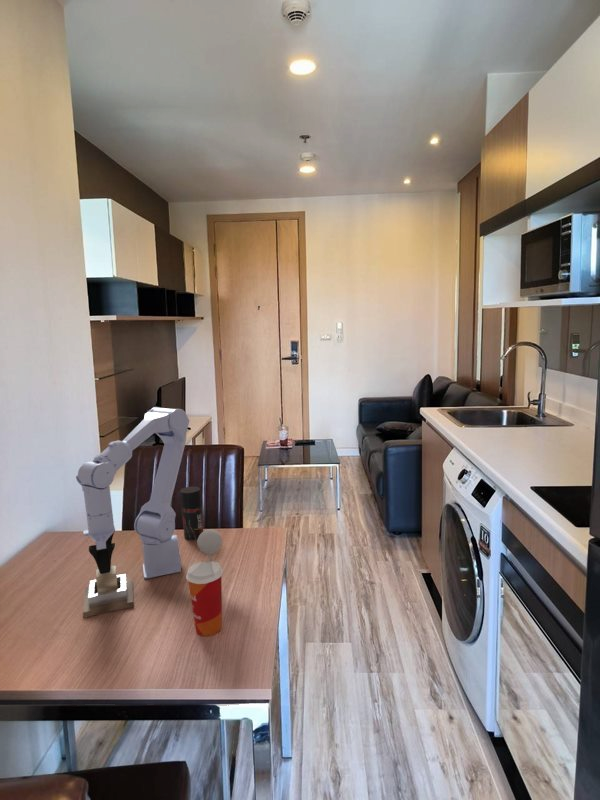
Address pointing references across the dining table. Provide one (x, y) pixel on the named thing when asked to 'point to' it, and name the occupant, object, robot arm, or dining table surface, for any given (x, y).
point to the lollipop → (209, 542)
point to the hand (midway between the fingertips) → (105, 565)
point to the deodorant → (191, 512)
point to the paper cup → (206, 597)
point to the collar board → (108, 597)
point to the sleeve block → (107, 580)
